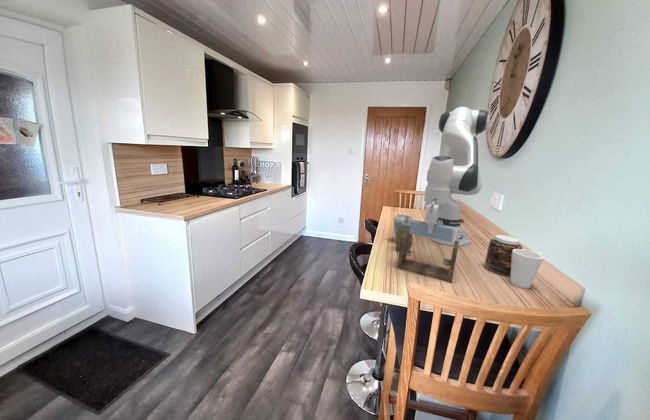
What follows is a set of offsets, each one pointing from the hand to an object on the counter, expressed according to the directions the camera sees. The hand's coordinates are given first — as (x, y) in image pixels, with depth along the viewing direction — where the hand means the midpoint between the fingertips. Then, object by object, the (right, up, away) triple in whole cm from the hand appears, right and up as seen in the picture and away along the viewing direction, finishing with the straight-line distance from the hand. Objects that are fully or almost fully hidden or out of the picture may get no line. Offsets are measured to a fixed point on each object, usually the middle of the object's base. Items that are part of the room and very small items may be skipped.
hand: (430, 230), depth 102 cm
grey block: (0, -2, +1) cm, 2 cm away
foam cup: (+34, -21, -3) cm, 40 cm away
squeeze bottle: (-4, -12, +25) cm, 28 cm away
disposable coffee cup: (-1, -10, +37) cm, 38 cm away
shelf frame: (-1, -17, +4) cm, 18 cm away
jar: (+34, -18, +9) cm, 40 cm away
